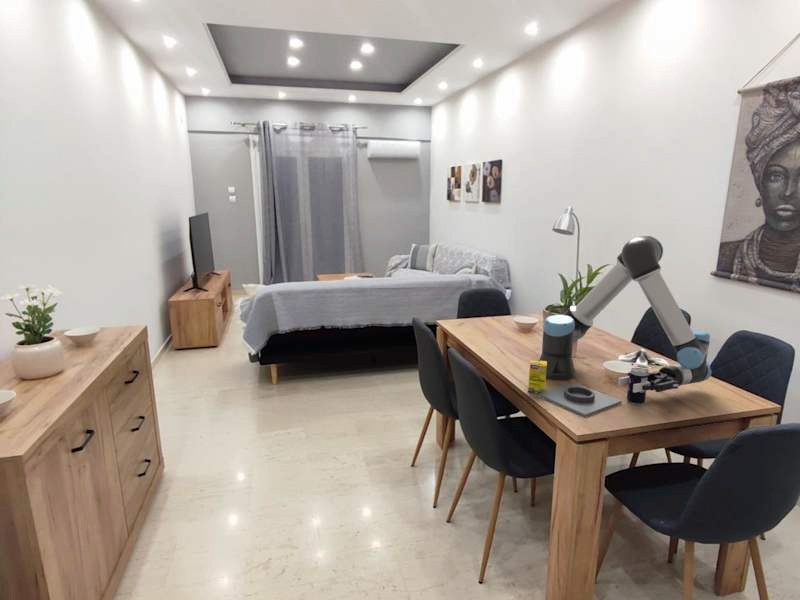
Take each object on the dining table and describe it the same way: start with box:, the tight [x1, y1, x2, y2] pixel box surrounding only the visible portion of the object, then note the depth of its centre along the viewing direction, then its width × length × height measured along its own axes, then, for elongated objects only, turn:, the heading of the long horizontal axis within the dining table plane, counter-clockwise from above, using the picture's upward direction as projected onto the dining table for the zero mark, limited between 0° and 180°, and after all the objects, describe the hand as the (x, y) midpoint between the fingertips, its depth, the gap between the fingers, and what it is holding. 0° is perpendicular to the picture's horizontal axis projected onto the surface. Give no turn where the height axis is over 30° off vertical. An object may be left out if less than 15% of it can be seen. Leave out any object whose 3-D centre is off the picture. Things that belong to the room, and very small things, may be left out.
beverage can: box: [626, 367, 648, 406], centre depth 164 cm, size 6×6×12 cm
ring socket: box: [537, 382, 623, 418], centre depth 167 cm, size 20×20×3 cm
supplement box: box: [527, 359, 547, 394], centre depth 174 cm, size 6×6×11 cm
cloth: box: [617, 348, 670, 369], centre depth 209 cm, size 22×19×6 cm
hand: (626, 385), depth 162 cm, fingers closed on beverage can, 6 cm apart
